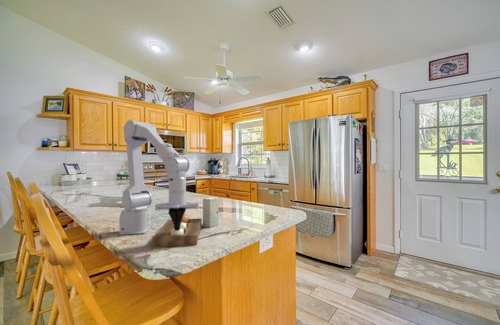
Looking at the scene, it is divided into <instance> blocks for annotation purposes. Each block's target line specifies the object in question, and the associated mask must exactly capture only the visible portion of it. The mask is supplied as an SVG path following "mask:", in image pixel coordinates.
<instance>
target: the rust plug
mask: <svg viewBox="0 0 500 325" xmlns="http://www.w3.org/2000/svg"><path fill="white" fill-rule="evenodd" d="M189 217H190V215H189V214H184V215H183V218H182V221H181V222H184V223H189V219H190V218H189Z"/></svg>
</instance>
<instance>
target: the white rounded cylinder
mask: <svg viewBox="0 0 500 325" xmlns="http://www.w3.org/2000/svg"><path fill="white" fill-rule="evenodd" d="M171 235H184V229H183V228H180V230H177V231H175V228H174V229H172V230H171Z"/></svg>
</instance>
